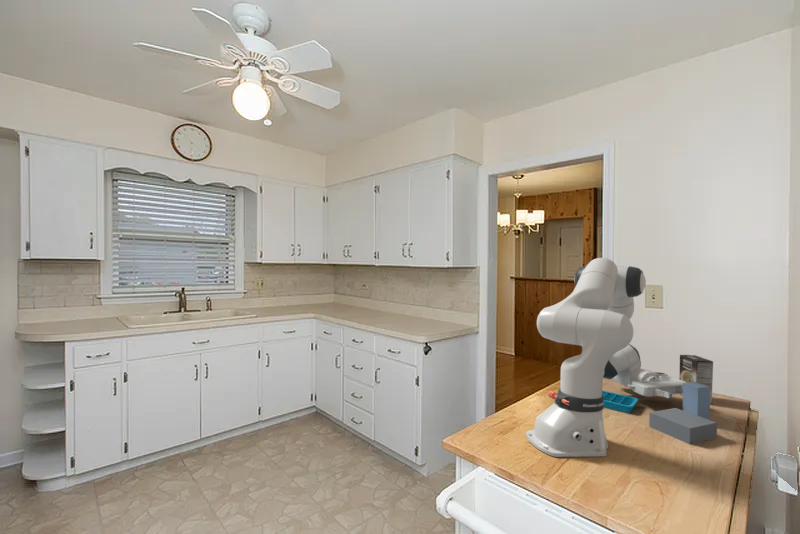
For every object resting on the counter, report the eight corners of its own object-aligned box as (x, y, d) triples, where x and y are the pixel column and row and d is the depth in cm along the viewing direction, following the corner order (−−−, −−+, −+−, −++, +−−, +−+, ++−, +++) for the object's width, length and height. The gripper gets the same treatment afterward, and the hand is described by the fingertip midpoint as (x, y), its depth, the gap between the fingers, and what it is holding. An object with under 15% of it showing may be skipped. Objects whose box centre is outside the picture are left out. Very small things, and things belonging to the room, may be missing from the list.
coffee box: (678, 394, 148) (678, 354, 148) (694, 394, 148) (695, 354, 147) (695, 403, 139) (696, 360, 139) (713, 403, 139) (713, 360, 138)
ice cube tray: (580, 392, 150) (581, 385, 150) (639, 406, 136) (639, 398, 136) (570, 400, 141) (570, 392, 141) (631, 415, 127) (631, 407, 127)
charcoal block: (689, 445, 107) (689, 428, 107) (649, 428, 118) (649, 412, 118) (716, 439, 111) (717, 422, 111) (675, 422, 122) (675, 407, 122)
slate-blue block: (697, 424, 120) (698, 387, 120) (682, 418, 125) (683, 382, 125) (709, 423, 121) (710, 386, 121) (694, 416, 126) (694, 381, 126)
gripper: (623, 375, 139) (657, 387, 125) (667, 372, 144) (704, 384, 130) (623, 392, 139) (656, 406, 125) (667, 388, 144) (703, 401, 130)
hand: (681, 394), depth 128 cm, fingers open, 8 cm apart
